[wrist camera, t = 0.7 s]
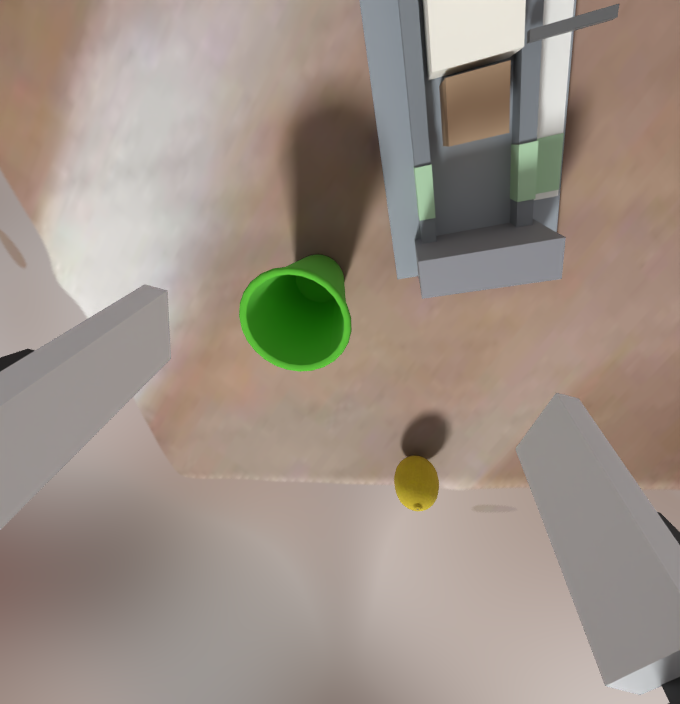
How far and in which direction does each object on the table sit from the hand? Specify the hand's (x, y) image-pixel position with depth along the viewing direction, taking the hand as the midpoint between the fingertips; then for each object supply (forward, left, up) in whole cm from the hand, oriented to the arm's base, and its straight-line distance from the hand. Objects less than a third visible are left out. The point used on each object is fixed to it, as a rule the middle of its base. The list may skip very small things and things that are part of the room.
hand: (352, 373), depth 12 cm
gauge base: (-8, +8, -25) cm, 28 cm away
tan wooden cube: (-7, +8, -24) cm, 26 cm away
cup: (+4, -7, -25) cm, 27 cm away
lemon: (+31, 0, -25) cm, 40 cm away
